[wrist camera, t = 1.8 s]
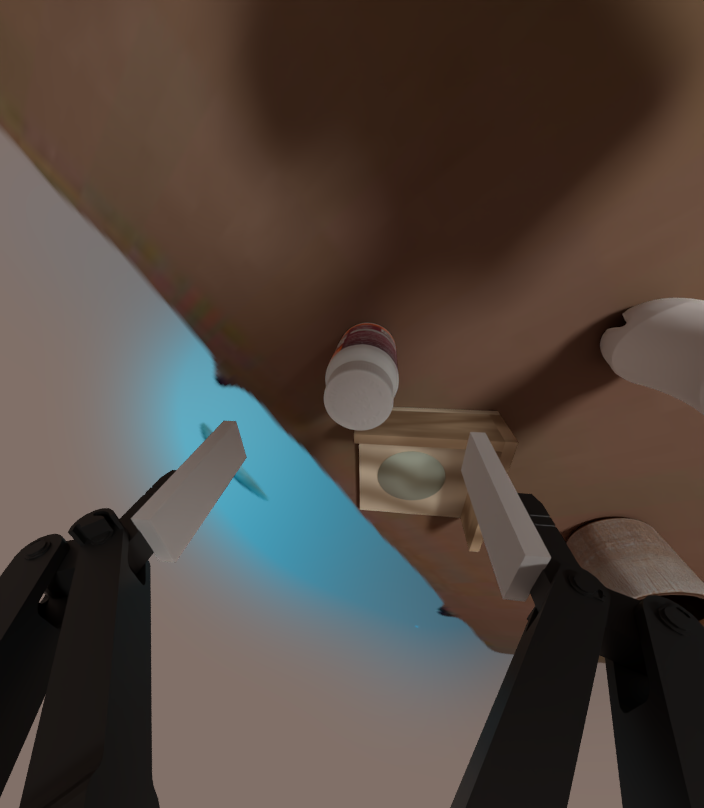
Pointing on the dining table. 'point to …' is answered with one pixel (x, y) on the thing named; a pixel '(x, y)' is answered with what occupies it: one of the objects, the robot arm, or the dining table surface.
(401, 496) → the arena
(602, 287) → the dining table surface
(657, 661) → the robot arm
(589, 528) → the planter
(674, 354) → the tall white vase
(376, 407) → the pill bottle
